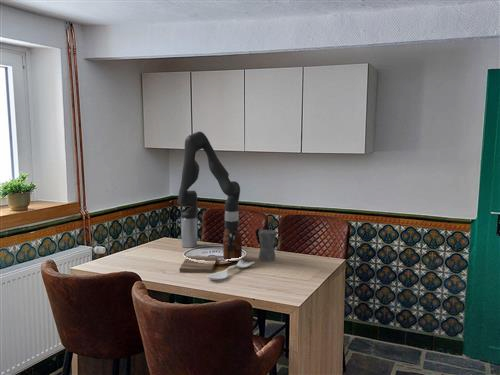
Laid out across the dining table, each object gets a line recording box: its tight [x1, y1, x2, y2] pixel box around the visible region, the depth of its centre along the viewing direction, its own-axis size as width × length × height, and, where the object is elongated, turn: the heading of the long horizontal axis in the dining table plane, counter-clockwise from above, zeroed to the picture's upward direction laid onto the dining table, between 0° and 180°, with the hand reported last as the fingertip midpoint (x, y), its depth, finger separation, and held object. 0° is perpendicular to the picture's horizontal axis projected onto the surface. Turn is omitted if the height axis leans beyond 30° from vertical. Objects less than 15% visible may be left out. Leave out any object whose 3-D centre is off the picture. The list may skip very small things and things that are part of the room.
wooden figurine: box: [222, 228, 243, 263], centre depth 258 cm, size 12×6×18 cm, turn 64°
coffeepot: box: [255, 226, 278, 262], centre depth 261 cm, size 15×9×18 cm, turn 44°
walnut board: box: [179, 255, 218, 274], centre depth 249 cm, size 22×16×2 cm
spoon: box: [206, 258, 256, 281], centre depth 237 cm, size 9×32×4 cm, turn 147°
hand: (231, 249), depth 259 cm, fingers closed on wooden figurine, 7 cm apart
